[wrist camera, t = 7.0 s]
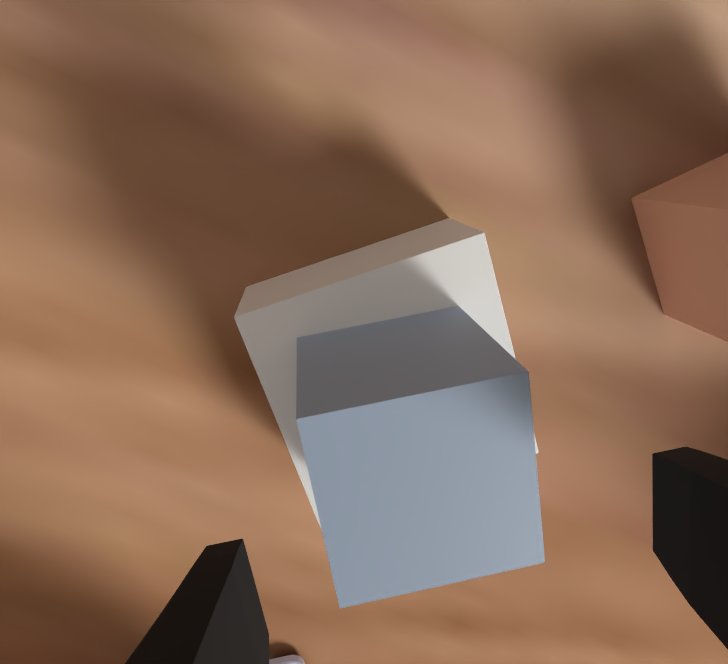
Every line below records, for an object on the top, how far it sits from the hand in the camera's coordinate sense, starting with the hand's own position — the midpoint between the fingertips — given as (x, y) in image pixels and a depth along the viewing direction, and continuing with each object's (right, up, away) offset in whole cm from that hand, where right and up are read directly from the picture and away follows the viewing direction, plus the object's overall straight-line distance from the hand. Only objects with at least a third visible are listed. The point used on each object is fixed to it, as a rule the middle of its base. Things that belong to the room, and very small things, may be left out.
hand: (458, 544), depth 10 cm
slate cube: (-1, +2, +6) cm, 7 cm away
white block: (-1, +3, +10) cm, 11 cm away
